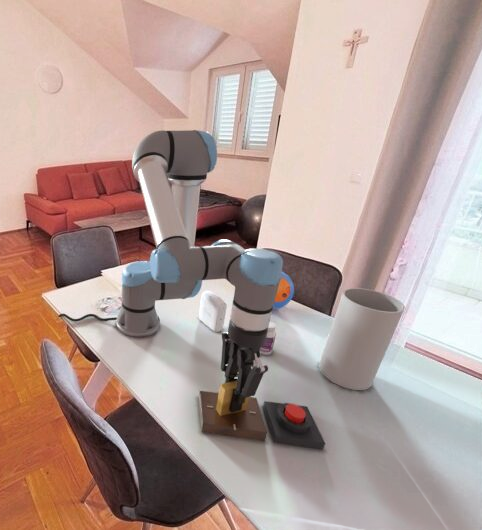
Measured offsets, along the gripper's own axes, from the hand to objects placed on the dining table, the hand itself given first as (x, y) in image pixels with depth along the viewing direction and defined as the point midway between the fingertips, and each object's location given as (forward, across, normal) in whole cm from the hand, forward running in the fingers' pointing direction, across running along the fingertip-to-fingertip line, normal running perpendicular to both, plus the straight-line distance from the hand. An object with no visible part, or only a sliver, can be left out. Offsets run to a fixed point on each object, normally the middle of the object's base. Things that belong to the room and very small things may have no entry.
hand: (231, 405), depth 75 cm
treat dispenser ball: (+5, +43, -45) cm, 63 cm away
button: (+1, -6, -13) cm, 14 cm away
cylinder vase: (+5, +5, -40) cm, 41 cm away
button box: (+4, -6, -13) cm, 15 cm away
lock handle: (+1, 0, 0) cm, 1 cm away
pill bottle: (+5, +20, -26) cm, 33 cm away
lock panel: (+4, 0, 0) cm, 4 cm away
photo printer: (+5, +38, -17) cm, 41 cm away
